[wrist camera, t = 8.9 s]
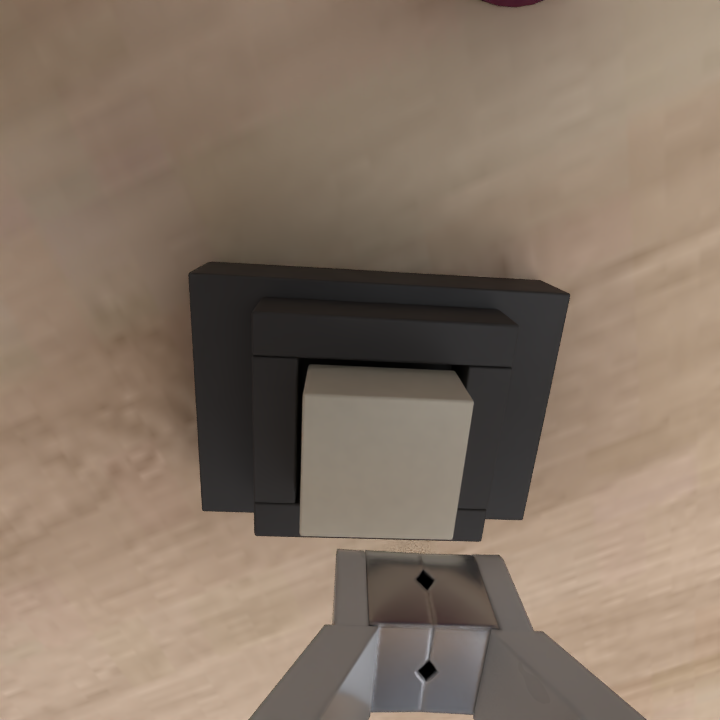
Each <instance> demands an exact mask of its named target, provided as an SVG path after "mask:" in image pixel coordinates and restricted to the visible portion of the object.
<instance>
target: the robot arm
mask: <svg viewBox="0 0 720 720" xmlns="http://www.w3.org/2000/svg"><path fill="white" fill-rule="evenodd" d="M370 712H432V713H450V714H468V715H474V716H473V718H474V720H646V719H645V718H644V717H643V716H642V715H641V714H639V713H638V712H637V711H636V710H635V709H634V708H632V707H631V706H630V705H629V704H628V703H626V702H625V701H624V700H623V699H622V698H621V697H619V696H618V695H617V694H616V693H615V692H614V691H612V690H611V689H610V688H609V687H608V686H606V685H605V684H604V683H603V682H602V681H601V680H599V679H598V678H597V677H596V676H595V675H594V674H592V673H591V672H590V671H589V670H588V669H586V668H585V667H584V666H583V665H582V664H581V663H579V662H578V661H577V660H576V659H575V658H574V657H572V656H571V655H570V654H569V653H568V652H566V651H565V650H564V649H563V648H562V647H561V646H559V645H558V644H557V643H556V642H555V641H553V640H552V639H551V638H550V637H549V636H548V635H546V634H545V633H544V632H543V631H534V630H533V627H532V625H531V623H530V620H529V618H528V616H527V613H526V611H525V609H524V606H523V604H522V602H521V599H520V597H519V595H518V592H517V590H516V588H515V585H514V583H513V581H512V578H511V576H510V574H509V571H508V569H507V567H506V564H505V562H504V560H503V558H502V557H500V556H499V555H452V554H419V553H402V552H386V551H370V550H365V552H364V551H362V550H345V549H337V554H336V567H335V583H334V600H333V616H332V625H324V626H323V628H322V629H321V630H320V631H319V633H318V634H317V635H316V636H315V638H314V639H313V640H312V641H311V643H310V644H309V645H308V646H307V648H306V649H305V650H304V651H303V653H302V654H301V655H300V656H299V657H298V659H297V660H296V661H295V662H294V664H293V665H292V666H291V667H290V669H289V670H288V671H287V672H286V674H285V675H284V676H283V677H282V679H281V680H280V681H279V682H278V684H277V685H276V686H275V687H274V688H273V690H272V691H271V692H270V693H269V695H268V696H267V697H266V698H265V700H264V701H263V702H262V703H261V705H260V706H259V707H258V708H257V710H256V711H255V712H254V713H253V715H252V716H251V717H250V718H249V720H368V719H369V717H370Z"/></svg>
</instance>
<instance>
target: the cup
mask: <svg viewBox="0 0 720 720" xmlns="http://www.w3.org/2000/svg"><path fill="white" fill-rule="evenodd" d="M482 1H485V2H488V3H491V4H494V5H498V6H508V7H520V6H526V5H532V4H535V3H538V2H540V1H543V0H482Z"/></svg>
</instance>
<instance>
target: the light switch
mask: <svg viewBox="0 0 720 720" xmlns="http://www.w3.org/2000/svg"><path fill="white" fill-rule="evenodd" d="M189 292H190V309H191V326H192V344H193V361H194V378H195V395H196V412H197V429H198V447H199V464H200V481H201V498H202V510H203V511H218V512H253V513H254V533H255V535H256V536H280V537H319V538H358V539H398V540H437V541H476V542H479V541H481V539H482V534H483V528H484V522H485V519H501V520H522V519H523V516H524V511H525V506H526V502H527V497H528V492H529V487H530V483H531V478H532V473H533V469H534V464H535V459H536V454H537V450H538V445H539V440H540V436H541V431H542V426H543V421H544V417H545V412H546V407H547V403H548V398H549V393H550V388H551V384H552V379H553V374H554V370H555V365H556V360H557V355H558V351H559V346H560V341H561V337H562V332H563V327H564V322H565V318H566V313H567V308H568V304H569V299H570V294H569V293H567V292H565V291H562V290H560V289H558V288H556V287H554V286H551V285H549V284H547V283H545V282H543V281H541V280H523V279H506V278H488V277H470V276H452V275H435V274H417V273H399V272H382V271H364V270H346V269H329V268H311V267H293V266H276V265H258V264H240V263H223V262H208V263H206V264H205V265H203V266H201V267H199V268H197V269H195V270H194V271H192V272H190V273H189ZM310 364H317V365H339V366H361V367H383V368H405V369H427V370H449V371H455V372H456V374H457V375H458V377H459V379H460V380H461V382H462V383H463V385H464V387H465V388H466V390H467V392H468V393H469V395H470V396H471V398H472V400H473V402H474V405H473V411H472V418H471V424H470V431H469V437H468V444H467V450H466V456H465V463H464V469H463V476H462V482H461V489H460V495H459V501H458V508H457V514H456V521H455V527H454V534H453V538H452V539H451V540H438V539H399V538H360V537H321V536H301V535H300V533H299V530H300V488H301V446H302V404H303V391H304V386H305V381H306V375H307V370H308V366H309V365H310Z"/></svg>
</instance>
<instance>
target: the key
mask: <svg viewBox="0 0 720 720" xmlns="http://www.w3.org/2000/svg"><path fill="white" fill-rule="evenodd" d="M473 405H474V402H473V400H472V398H471V396H470V395H469V393H468V392H467V390H466V388H465V387H464V385H463V383H462V382H461V380H460V379H459V377H458V375H457V374H456V372H455V371H449V370H427V369H405V368H383V367H361V366H339V365H317V364H310V365H309V366H308V370H307V375H306V381H305V386H304V391H303V404H302V446H301V488H300V530H299V533H300V535H301V536H321V537H360V538H399V539H438V540H451V539H452V538H453V534H454V527H455V521H456V514H457V508H458V501H459V495H460V489H461V482H462V476H463V469H464V463H465V456H466V450H467V444H468V437H469V431H470V424H471V418H472V411H473Z"/></svg>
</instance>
